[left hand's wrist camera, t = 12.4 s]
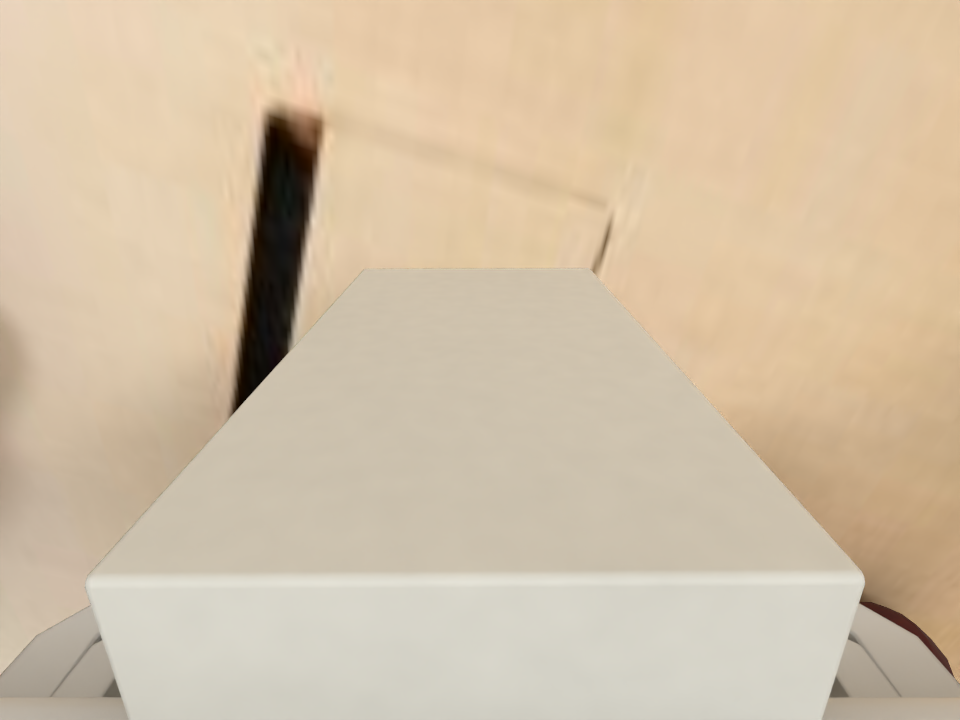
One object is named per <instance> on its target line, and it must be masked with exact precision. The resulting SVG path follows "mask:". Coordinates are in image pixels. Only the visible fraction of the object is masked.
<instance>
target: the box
mask: <svg viewBox="0 0 960 720" xmlns="http://www.w3.org/2000/svg"><path fill="white" fill-rule="evenodd" d="M864 586H865V579H864V576H863V573H862V571H861V570H860V569H859V568H858V567H857V565H856V564H855V563H854V562H853V561H852V560H851V559H850V558H849V557H848V555H847V554H846V553H845V552H844V551H843V550H842V549H841V548H840V547H839V545H838V544H837V543H836V542H835V541H834V540H833V539H832V538H831V537H830V535H829V534H828V533H827V532H826V531H825V530H824V529H823V528H822V527H821V525H820V524H819V523H818V522H817V521H816V520H815V519H814V518H813V517H812V515H811V514H810V513H809V512H808V511H807V510H806V509H805V508H804V506H803V505H802V504H801V503H800V502H799V501H798V500H797V499H796V498H795V496H794V495H793V494H792V493H791V492H790V491H789V490H788V489H787V488H786V486H785V485H784V484H783V483H782V482H781V481H780V480H779V479H778V478H777V476H776V475H775V474H774V473H773V472H772V471H771V470H770V469H769V468H768V466H767V465H766V464H765V463H764V462H763V461H762V460H761V459H760V458H759V456H758V455H757V454H756V453H755V452H754V451H753V450H752V449H751V448H750V446H749V445H748V444H747V443H746V442H745V441H744V440H743V439H742V438H741V436H740V435H739V434H738V433H737V432H736V431H735V430H734V429H733V428H732V426H731V425H730V424H729V423H728V422H727V421H726V420H725V419H724V418H723V416H722V415H721V414H720V413H719V412H718V411H717V410H716V409H715V407H714V406H713V405H712V404H711V403H710V402H709V401H708V400H707V399H706V397H705V396H704V395H703V394H702V393H701V392H700V391H699V390H698V389H697V387H696V386H695V385H694V384H693V383H692V382H691V381H690V380H689V379H688V377H687V376H686V375H685V374H684V373H683V372H682V371H681V370H680V369H679V367H678V366H677V365H676V364H675V363H674V362H673V361H672V360H671V359H670V357H669V356H668V355H667V354H666V353H665V352H664V351H663V350H662V349H661V347H660V346H659V345H658V344H657V343H656V342H655V341H654V340H653V339H652V337H651V336H650V335H649V334H648V333H647V332H646V331H645V330H644V329H643V327H642V326H641V325H640V324H639V323H638V322H637V321H636V320H635V318H634V317H633V316H632V315H631V314H630V313H629V312H628V311H627V310H626V308H625V307H624V306H623V305H622V304H621V303H620V302H619V301H618V300H617V298H616V297H615V296H614V295H613V294H612V293H611V292H610V291H609V290H608V288H607V287H606V286H605V285H604V284H603V283H602V282H601V281H600V280H599V278H598V277H597V276H596V275H595V274H594V273H593V272H592V271H591V270H590V269H588V268H508V269H364V270H363V271H362V272H361V273H360V274H359V275H358V276H357V278H356V279H355V280H354V281H353V282H352V283H351V284H350V285H349V286H348V288H347V289H346V290H345V291H344V292H343V293H342V294H341V295H340V296H339V298H338V299H337V300H336V301H335V302H334V303H333V304H332V305H331V306H330V307H329V309H328V310H327V311H326V312H325V313H324V314H323V315H322V316H321V317H320V319H319V320H318V321H317V322H316V323H315V324H314V325H313V326H312V327H311V329H310V330H309V331H308V332H307V333H306V334H305V335H304V336H303V337H302V339H301V340H300V341H299V342H298V343H297V344H296V345H295V346H294V347H293V348H292V350H291V351H290V352H289V353H288V354H287V355H286V356H285V357H284V358H283V360H282V361H281V362H280V363H279V364H278V365H277V366H276V367H275V368H274V370H273V371H272V372H271V373H270V374H269V375H268V376H267V377H266V378H265V380H264V381H263V382H262V383H261V384H260V385H259V386H258V387H257V388H256V389H255V391H254V392H253V393H252V394H251V395H250V396H249V397H248V398H247V399H246V401H245V402H244V403H243V404H242V405H241V406H240V407H239V408H238V409H237V411H236V412H235V413H234V414H233V415H232V416H231V417H230V418H229V419H228V421H227V422H226V423H225V424H224V425H223V426H222V427H221V428H220V429H219V430H218V432H217V433H216V434H215V435H214V436H213V437H212V438H211V439H210V440H209V442H208V443H207V444H206V445H205V446H204V447H203V448H202V449H201V450H200V452H199V453H198V454H197V455H196V456H195V457H194V458H193V459H192V460H191V461H190V463H189V464H188V465H187V466H186V467H185V468H184V469H183V470H182V471H181V473H180V474H179V475H178V476H177V477H176V478H175V479H174V480H173V481H172V483H171V484H170V485H169V486H168V487H167V488H166V489H165V490H164V491H163V493H162V494H161V495H160V496H159V497H158V498H157V499H156V500H155V501H154V502H153V504H152V505H151V506H150V507H149V508H148V509H147V510H146V511H145V512H144V514H143V515H142V516H141V517H140V518H139V519H138V520H137V521H136V522H135V524H134V525H133V526H132V527H131V528H130V529H129V530H128V531H127V532H126V534H125V535H124V536H123V537H122V538H121V539H120V540H119V541H118V542H117V543H116V545H115V546H114V547H113V548H112V549H111V550H110V551H109V552H108V553H107V555H106V556H105V557H104V558H103V559H102V560H101V561H100V562H99V563H98V565H97V566H96V567H95V568H94V569H93V570H92V571H91V572H90V573H89V575H88V576H87V579H86V582H85V589H86V592H87V595H88V598H89V601H90V604H91V607H92V610H93V613H94V616H95V619H96V622H97V625H98V628H99V631H100V634H101V637H102V640H103V644H104V647H105V650H106V653H107V656H108V659H109V662H110V665H111V668H112V671H113V674H114V677H115V680H116V683H117V686H118V689H119V692H120V695H121V698H122V701H123V704H124V707H125V710H126V713H127V716H128V719H129V720H822V718H823V715H824V711H825V708H826V705H827V702H828V699H829V696H830V693H831V689H832V686H833V683H834V680H835V677H836V674H837V671H838V667H839V664H840V661H841V658H842V655H843V652H844V649H845V645H846V642H847V639H848V636H849V633H850V630H851V627H852V623H853V620H854V617H855V614H856V611H857V608H858V605H859V601H860V598H861V595H862V592H863V589H864Z"/></svg>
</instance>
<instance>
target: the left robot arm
mask: <svg viewBox="0 0 960 720" xmlns="http://www.w3.org/2000/svg"><path fill="white" fill-rule="evenodd" d="M0 720H129V719H128V716H127V713H126V710H125V707H124V704H123V701H122V698H121V695H120V692H119V689H118V686H117V683H116V680H115V677H114V674H113V671H112V668H111V665H110V662H109V659H108V656H107V653H106V650H105V647H104V644H103V640H102V637H101V634H100V631H99V628H98V625H97V622H96V619H95V616H94V613H93V610H92V607H91V605H90V606H88V607H86V608H84V609H83V610H81V611H79V612H77V613H76V614H74V615H72V616H70V617H69V618H67V619H65V620H63V621H61V622H60V623H58V624H56V625H54V626H53V627H51V628H49V629H47V630H45V631H44V632H42V633H40V634H38V635H37V636H36V637H35V638H34V639H33V640H32V641H31V642H30V643H29V644H28V645H27V646H26V648H25V649H24V650H23V651H22V652H21V653H20V654H19V655H18V656H17V657H16V659H15V660H14V661H13V662H12V663H11V664H10V665H9V666H8V667H7V668H6V670H5V671H4V672H3V673H2V674H1V675H0ZM822 720H960V684H959V683H958V682H957V680H956V679H955V678H954V677H953V676H952V675H951V674H950V673H949V671H948V670H947V669H946V668H945V667H944V666H943V665H942V664H941V662H940V661H939V660H938V659H937V658H936V657H935V656H934V655H933V653H932V652H931V651H930V650H929V649H928V648H927V647H926V646H925V644H924V643H923V642H922V641H921V640H920V639H919V638H918V637H917V636H916V635H914V634H912V633H910V632H909V631H907V630H905V629H903V628H902V627H900V626H898V625H896V624H895V623H893V622H891V621H889V620H888V619H886V618H884V617H882V616H881V615H879V614H877V613H875V612H874V611H872V610H870V609H868V608H867V607H865V606H863V605H861V604H860V603H859V605H858V608H857V611H856V614H855V617H854V620H853V623H852V627H851V630H850V633H849V636H848V639H847V642H846V645H845V649H844V652H843V655H842V658H841V661H840V664H839V667H838V671H837V674H836V677H835V680H834V683H833V686H832V689H831V693H830V696H829V699H828V702H827V705H826V708H825V711H824V715H823V718H822Z"/></svg>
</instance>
